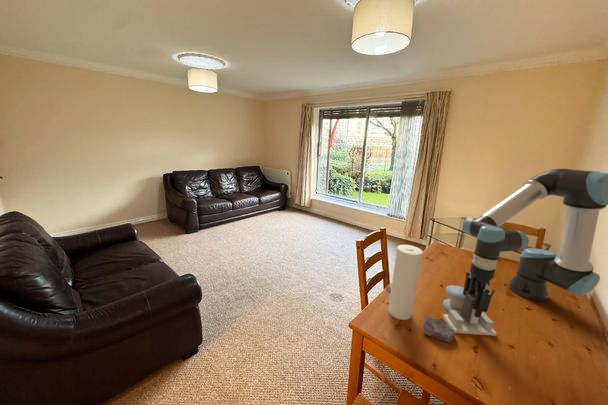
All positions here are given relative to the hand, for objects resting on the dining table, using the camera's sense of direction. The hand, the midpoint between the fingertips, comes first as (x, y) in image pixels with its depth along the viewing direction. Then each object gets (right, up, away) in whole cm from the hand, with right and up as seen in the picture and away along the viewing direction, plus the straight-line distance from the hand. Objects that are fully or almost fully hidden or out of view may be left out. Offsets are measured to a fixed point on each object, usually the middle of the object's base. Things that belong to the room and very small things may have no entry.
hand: (470, 318), depth 100 cm
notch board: (0, -4, +1) cm, 4 cm away
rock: (-16, -5, -4) cm, 17 cm away
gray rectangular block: (0, 0, 0) cm, 0 cm away
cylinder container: (-26, -1, +7) cm, 27 cm away
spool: (+1, -1, +11) cm, 11 cm away
